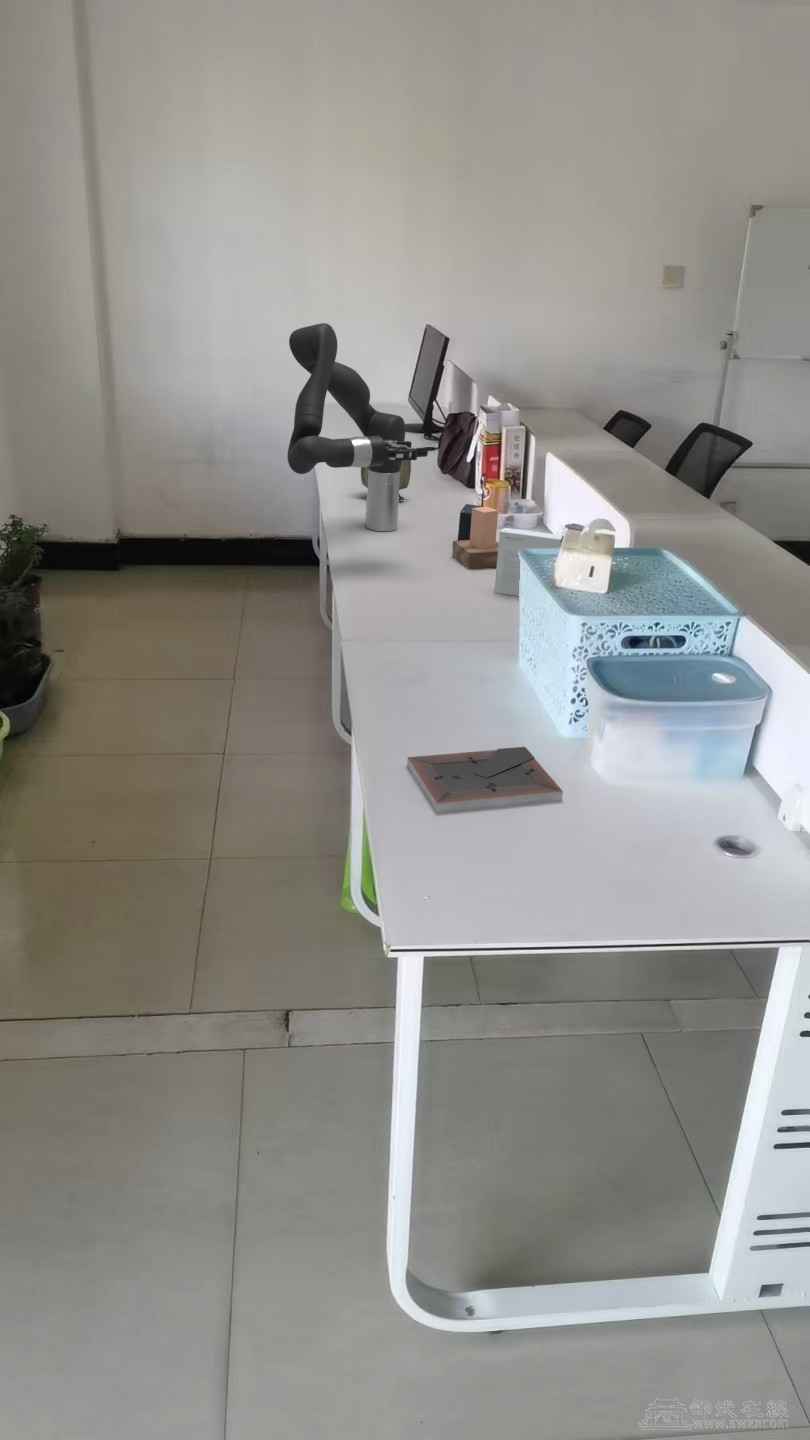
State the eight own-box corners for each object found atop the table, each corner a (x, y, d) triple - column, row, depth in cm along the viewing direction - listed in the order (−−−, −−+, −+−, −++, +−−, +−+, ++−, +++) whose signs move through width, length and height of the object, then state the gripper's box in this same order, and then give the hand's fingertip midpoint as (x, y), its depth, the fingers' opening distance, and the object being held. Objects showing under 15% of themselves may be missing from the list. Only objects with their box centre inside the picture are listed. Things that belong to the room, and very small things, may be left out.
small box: (478, 550, 313) (482, 514, 309) (456, 548, 314) (459, 511, 310) (484, 541, 322) (487, 505, 318) (462, 538, 324) (464, 503, 319)
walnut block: (451, 558, 306) (453, 540, 304) (491, 556, 310) (493, 539, 308) (468, 571, 296) (470, 553, 294) (509, 569, 300) (511, 551, 297)
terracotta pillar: (469, 544, 301) (472, 508, 297) (483, 542, 304) (486, 506, 300) (480, 549, 298) (483, 512, 293) (495, 546, 300) (498, 510, 296)
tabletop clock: (409, 502, 361) (413, 424, 350) (394, 506, 354) (398, 427, 343) (372, 494, 368) (375, 417, 357) (356, 499, 360) (359, 421, 350)
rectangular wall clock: (523, 758, 195) (406, 768, 189) (525, 746, 194) (407, 755, 188) (561, 803, 181) (436, 815, 175) (563, 790, 180) (437, 802, 174)
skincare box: (579, 599, 277) (587, 537, 271) (575, 605, 273) (583, 543, 266) (498, 587, 283) (504, 526, 276) (493, 593, 278) (498, 531, 272)
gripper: (378, 442, 273) (433, 439, 281) (351, 431, 284) (406, 429, 292) (376, 472, 276) (432, 468, 284) (350, 460, 288) (404, 457, 295)
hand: (418, 448), depth 288 cm, fingers open, 8 cm apart
